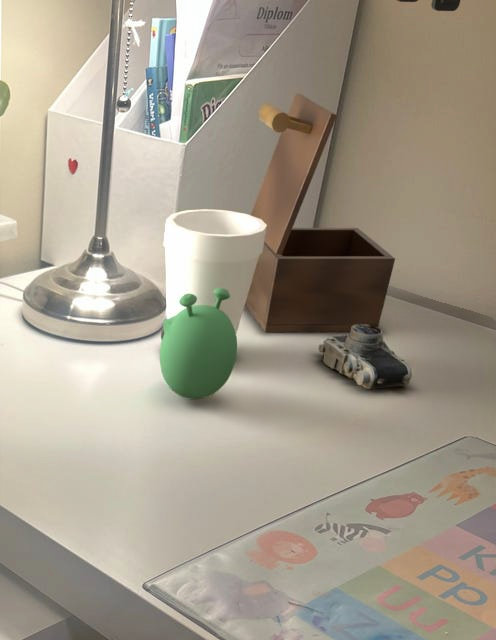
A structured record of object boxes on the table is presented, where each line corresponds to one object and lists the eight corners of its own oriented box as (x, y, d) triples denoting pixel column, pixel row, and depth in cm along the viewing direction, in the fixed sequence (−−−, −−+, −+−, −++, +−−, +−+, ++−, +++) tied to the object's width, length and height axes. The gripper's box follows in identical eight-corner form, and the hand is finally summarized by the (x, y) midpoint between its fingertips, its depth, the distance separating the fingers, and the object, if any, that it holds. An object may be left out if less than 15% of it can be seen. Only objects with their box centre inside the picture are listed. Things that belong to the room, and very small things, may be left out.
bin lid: (301, 94, 103) (259, 81, 102) (337, 115, 93) (291, 101, 92) (253, 224, 110) (212, 214, 109) (281, 255, 101) (238, 244, 100)
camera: (363, 395, 93) (373, 352, 91) (311, 355, 101) (320, 315, 99) (410, 390, 94) (421, 348, 92) (355, 351, 102) (365, 311, 100)
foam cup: (233, 378, 96) (255, 241, 88) (142, 363, 99) (156, 229, 91) (251, 345, 103) (273, 215, 95) (166, 332, 106) (181, 205, 98)
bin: (342, 296, 116) (357, 227, 111) (377, 331, 107) (395, 258, 102) (238, 296, 115) (249, 227, 111) (264, 332, 106) (277, 258, 101)
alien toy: (189, 373, 97) (202, 270, 91) (245, 400, 92) (263, 294, 86) (135, 389, 94) (145, 283, 87) (190, 418, 89) (205, 308, 83)
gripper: (570, -242, 73) (500, 15, 83) (485, -225, 84) (432, -1, 94) (473, -245, 72) (414, 14, 82) (401, -228, 84) (357, -2, 94)
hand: (424, 5), depth 88 cm, fingers open, 8 cm apart
